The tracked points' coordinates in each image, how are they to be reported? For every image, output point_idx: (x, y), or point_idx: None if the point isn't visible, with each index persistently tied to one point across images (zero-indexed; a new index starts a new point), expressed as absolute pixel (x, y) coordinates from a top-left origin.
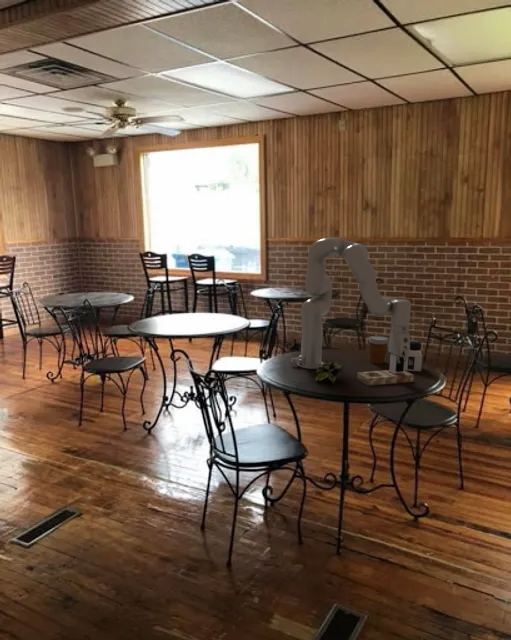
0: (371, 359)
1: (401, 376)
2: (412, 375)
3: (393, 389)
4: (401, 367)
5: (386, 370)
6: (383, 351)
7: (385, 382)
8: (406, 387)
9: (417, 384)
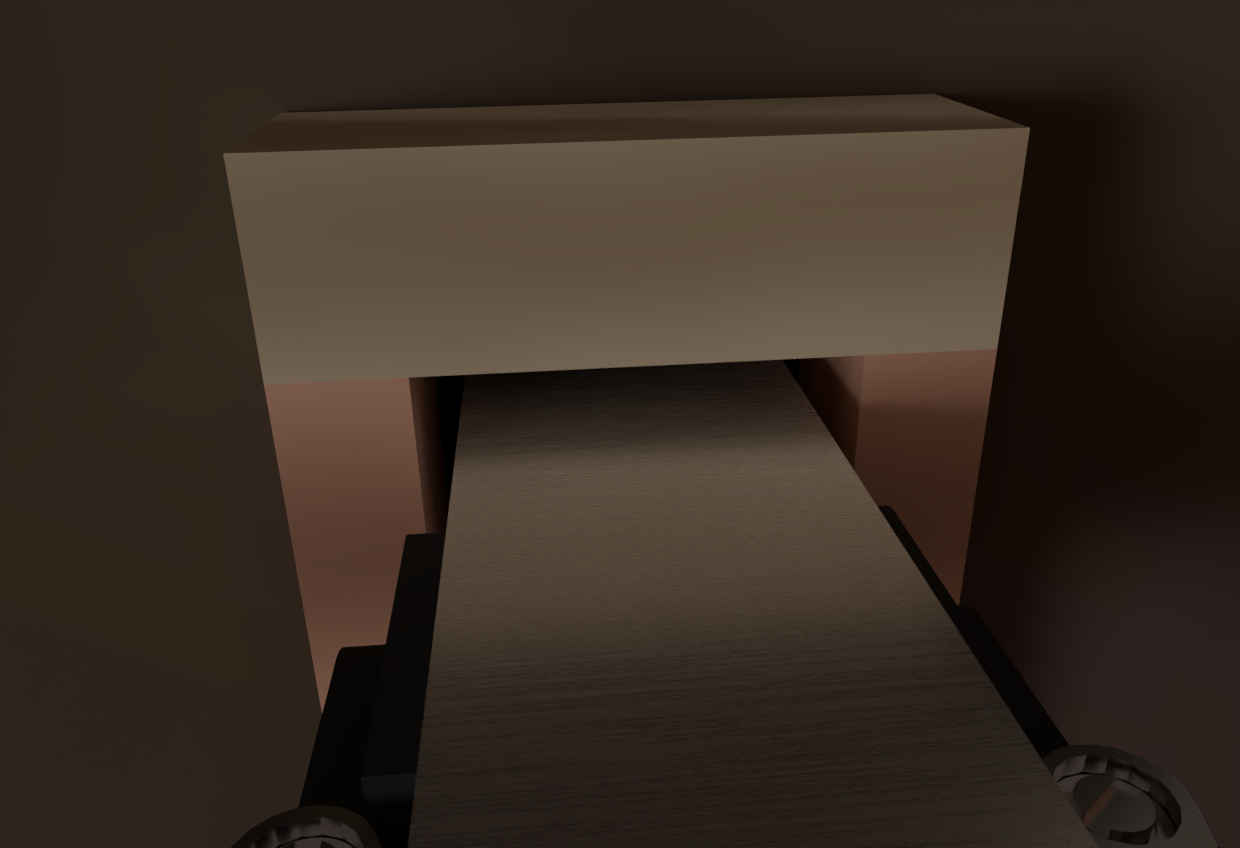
0: None
1: (956, 555)
2: (1014, 170)
3: (1191, 797)
4: None
5: None
6: None
7: None
8: (1224, 513)
9: (1181, 111)
